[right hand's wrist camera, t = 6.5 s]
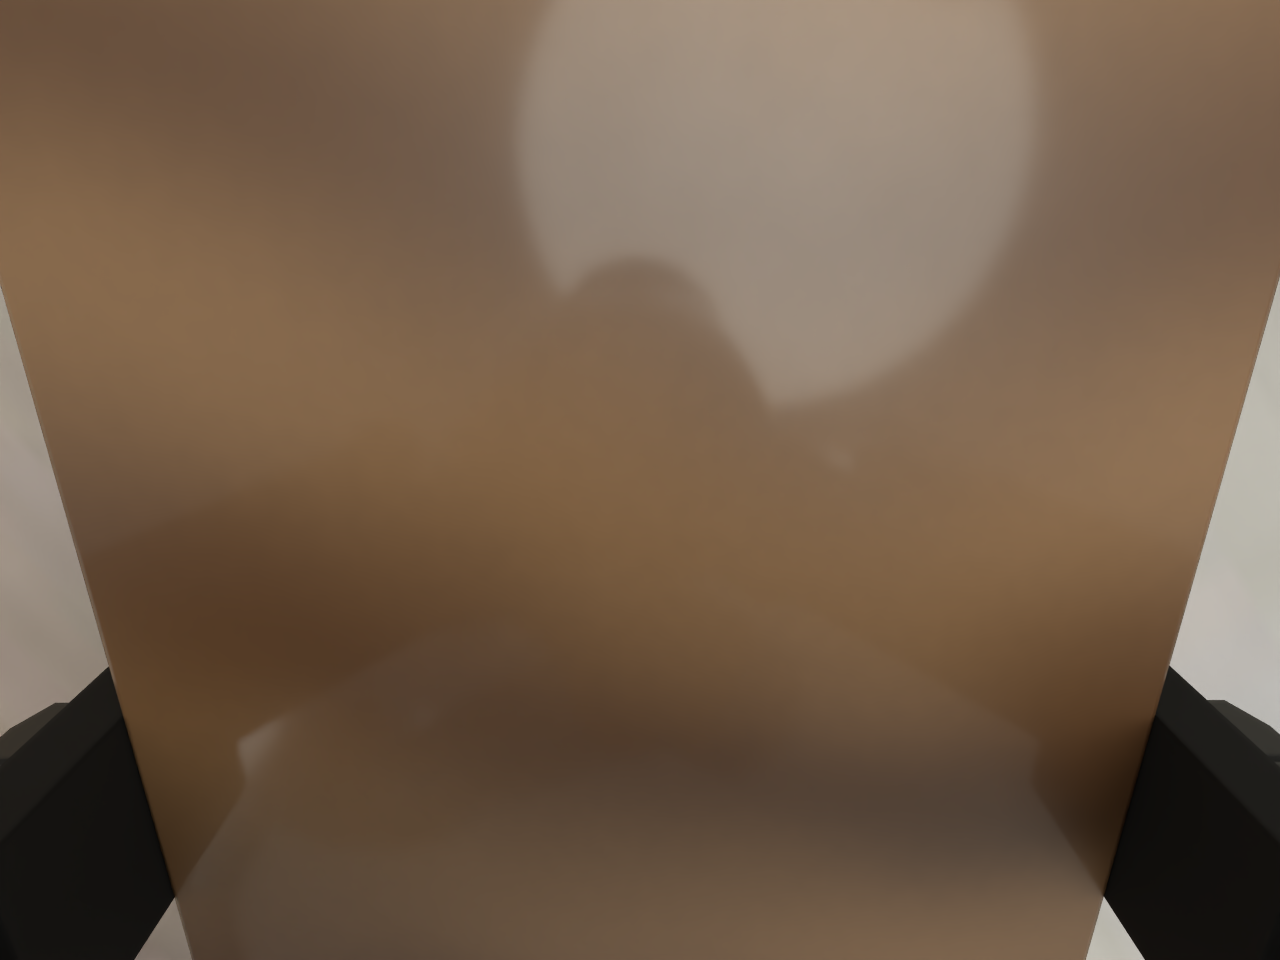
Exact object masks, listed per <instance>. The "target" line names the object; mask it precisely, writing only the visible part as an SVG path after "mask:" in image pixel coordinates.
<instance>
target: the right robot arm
mask: <svg viewBox="0 0 1280 960" xmlns="http://www.w3.org/2000/svg"><path fill="white" fill-rule="evenodd" d="M1104 897H1105V899H1106V900H1107V902H1108V903H1109V905H1110V907H1111V908H1112V910H1113V911H1114V913H1115V914H1116V916H1117V917H1118V919H1119V920H1120V922H1121V924H1122V925H1123V927H1124V928H1125V930H1126V931H1127V933H1128V934H1129V936H1130V937H1131V939H1132V941H1133V942H1134V944H1135V945H1136V947H1137V948H1138V950H1139V951H1140V953H1141V954H1142V956H1143V957H1144V959H1145V960H1280V734H1279V733H1277V732H1276V731H1275V730H1274V729H1273V728H1272V727H1271V726H1269V725H1267V724H1266V723H1264V722H1262V721H1260V720H1259V719H1257V718H1255V717H1253V716H1251V715H1250V714H1248V713H1246V712H1244V711H1243V710H1241V709H1239V708H1237V707H1236V706H1234V705H1232V704H1230V703H1229V702H1227V701H1225V700H1206V699H1205V698H1204V697H1203V696H1202V695H1201V694H1200V693H1199V692H1198V691H1196V690H1195V689H1194V688H1193V687H1192V686H1191V685H1190V684H1189V683H1188V682H1187V681H1186V680H1184V679H1183V678H1182V677H1181V676H1180V675H1179V674H1178V673H1177V672H1176V671H1175V670H1174V669H1172V668H1171V667H1170V666H1169V668H1168V671H1167V675H1166V679H1165V682H1164V686H1163V689H1162V693H1161V696H1160V700H1159V703H1158V707H1157V710H1156V714H1155V717H1154V721H1153V724H1152V728H1151V731H1150V735H1149V738H1148V742H1147V745H1146V749H1145V752H1144V756H1143V759H1142V763H1141V767H1140V770H1139V774H1138V777H1137V781H1136V784H1135V788H1134V791H1133V795H1132V798H1131V802H1130V805H1129V809H1128V812H1127V816H1126V819H1125V823H1124V826H1123V830H1122V833H1121V837H1120V840H1119V844H1118V847H1117V851H1116V854H1115V858H1114V862H1113V865H1112V869H1111V872H1110V876H1109V879H1108V883H1107V886H1106V890H1105V893H1104ZM173 899H174V893H173V890H172V886H171V883H170V879H169V875H168V872H167V868H166V865H165V861H164V858H163V854H162V851H161V847H160V844H159V840H158V837H157V833H156V830H155V826H154V823H153V819H152V816H151V812H150V809H149V805H148V802H147V798H146V795H145V791H144V788H143V784H142V781H141V777H140V774H139V770H138V766H137V763H136V759H135V756H134V752H133V749H132V745H131V742H130V738H129V735H128V731H127V728H126V724H125V721H124V717H123V714H122V710H121V707H120V703H119V700H118V696H117V693H116V689H115V686H114V682H113V679H112V675H111V672H110V668H109V667H108V668H107V669H105V670H104V671H103V672H102V673H101V674H100V675H99V676H98V677H97V678H96V679H95V680H93V681H92V682H91V683H90V684H89V685H88V686H87V687H86V688H85V689H84V690H83V691H81V692H80V693H79V694H78V695H77V696H76V697H75V698H74V699H73V700H72V701H71V702H69V703H54V704H53V705H51V706H49V707H47V708H46V709H44V710H42V711H40V712H39V713H37V714H35V715H33V716H32V717H30V718H28V719H26V720H25V721H23V722H21V723H19V724H17V725H16V726H14V727H12V728H10V729H9V730H8V731H7V732H6V733H5V734H3V735H2V736H1V737H0V960H134V959H135V958H136V956H137V955H138V953H139V951H140V950H141V948H142V947H143V945H144V944H145V942H146V941H147V939H148V938H149V936H150V935H151V933H152V931H153V930H154V928H155V927H156V925H157V924H158V922H159V921H160V919H161V918H162V916H163V914H164V913H165V911H166V910H167V908H168V907H169V905H170V904H171V902H172V901H173Z"/></svg>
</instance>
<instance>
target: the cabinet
mask: <svg viewBox="0 0 1280 960" xmlns="http://www.w3.org/2000/svg"><path fill="white" fill-rule="evenodd" d="M1279 277H1280V0H0V285H1V288H2V292H3V295H4V299H5V302H6V306H7V309H8V313H9V316H10V320H11V323H12V327H13V330H14V334H15V337H16V341H17V344H18V348H19V352H20V355H21V359H22V362H23V366H24V369H25V373H26V376H27V380H28V383H29V387H30V390H31V394H32V397H33V401H34V404H35V408H36V411H37V415H38V418H39V422H40V425H41V429H42V432H43V436H44V439H45V443H46V446H47V450H48V454H49V457H50V461H51V464H52V468H53V471H54V475H55V478H56V482H57V485H58V489H59V492H60V496H61V499H62V503H63V506H64V510H65V513H66V517H67V520H68V524H69V527H70V531H71V534H72V538H73V541H74V545H75V548H76V552H77V555H78V559H79V563H80V566H81V570H82V573H83V577H84V580H85V584H86V587H87V591H88V594H89V598H90V601H91V605H92V608H93V612H94V615H95V619H96V622H97V626H98V629H99V633H100V636H101V640H102V643H103V647H104V650H105V654H106V657H107V661H108V664H109V668H110V672H111V675H112V679H113V682H114V686H115V689H116V693H117V696H118V700H119V703H120V707H121V710H122V714H123V717H124V721H125V724H126V728H127V731H128V735H129V738H130V742H131V745H132V749H133V752H134V756H135V759H136V763H137V766H138V770H139V774H140V777H141V781H142V784H143V788H144V791H145V795H146V798H147V802H148V805H149V809H150V812H151V816H152V819H153V823H154V826H155V830H156V833H157V837H158V840H159V844H160V847H161V851H162V854H163V858H164V861H165V865H166V868H167V872H168V875H169V879H170V883H171V886H172V890H173V893H174V897H175V900H176V904H177V907H178V911H179V914H180V918H181V921H182V925H183V928H184V932H185V935H186V939H187V942H188V946H189V949H190V953H191V956H192V960H1086V957H1087V953H1088V949H1089V946H1090V942H1091V939H1092V935H1093V932H1094V928H1095V925H1096V921H1097V918H1098V914H1099V911H1100V907H1101V904H1102V900H1103V897H1104V893H1105V890H1106V886H1107V883H1108V879H1109V876H1110V872H1111V869H1112V865H1113V862H1114V858H1115V854H1116V851H1117V847H1118V844H1119V840H1120V837H1121V833H1122V830H1123V826H1124V823H1125V819H1126V816H1127V812H1128V809H1129V805H1130V802H1131V798H1132V795H1133V791H1134V788H1135V784H1136V781H1137V777H1138V774H1139V770H1140V767H1141V763H1142V759H1143V756H1144V752H1145V749H1146V745H1147V742H1148V738H1149V735H1150V731H1151V728H1152V724H1153V721H1154V717H1155V714H1156V710H1157V707H1158V703H1159V700H1160V696H1161V693H1162V689H1163V686H1164V682H1165V679H1166V675H1167V671H1168V668H1169V664H1170V661H1171V657H1172V654H1173V650H1174V647H1175V643H1176V640H1177V636H1178V633H1179V629H1180V626H1181V622H1182V619H1183V615H1184V612H1185V608H1186V605H1187V601H1188V598H1189V594H1190V591H1191V587H1192V584H1193V580H1194V576H1195V573H1196V569H1197V566H1198V562H1199V559H1200V555H1201V552H1202V548H1203V545H1204V541H1205V538H1206V534H1207V531H1208V527H1209V524H1210V520H1211V517H1212V513H1213V510H1214V506H1215V503H1216V499H1217V496H1218V492H1219V489H1220V485H1221V481H1222V478H1223V474H1224V471H1225V467H1226V464H1227V460H1228V457H1229V453H1230V450H1231V446H1232V443H1233V439H1234V436H1235V432H1236V429H1237V425H1238V422H1239V418H1240V415H1241V411H1242V408H1243V404H1244V401H1245V397H1246V394H1247V390H1248V386H1249V383H1250V379H1251V376H1252V372H1253V369H1254V365H1255V362H1256V358H1257V355H1258V351H1259V348H1260V344H1261V341H1262V337H1263V334H1264V330H1265V327H1266V323H1267V320H1268V316H1269V313H1270V309H1271V306H1272V302H1273V299H1274V295H1275V291H1276V288H1277V284H1278V281H1279Z"/></svg>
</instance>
